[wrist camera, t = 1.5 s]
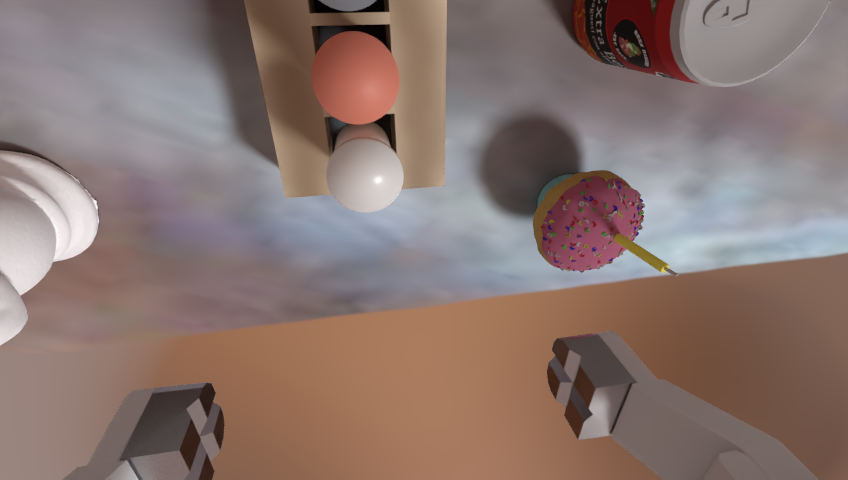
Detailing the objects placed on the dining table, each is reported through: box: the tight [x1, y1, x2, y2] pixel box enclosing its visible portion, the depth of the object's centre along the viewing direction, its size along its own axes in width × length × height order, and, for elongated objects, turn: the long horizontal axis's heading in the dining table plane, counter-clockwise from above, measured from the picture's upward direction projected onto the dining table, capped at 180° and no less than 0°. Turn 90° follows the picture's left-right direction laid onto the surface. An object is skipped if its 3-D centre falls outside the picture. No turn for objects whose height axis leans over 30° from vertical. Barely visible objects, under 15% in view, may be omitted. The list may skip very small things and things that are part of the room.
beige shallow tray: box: [244, 0, 447, 198], centre depth 25 cm, size 11×16×4 cm
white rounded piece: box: [326, 122, 404, 212], centre depth 24 cm, size 4×4×6 cm
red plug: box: [311, 31, 399, 125], centre depth 21 cm, size 4×4×6 cm
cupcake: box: [533, 170, 678, 276], centre depth 30 cm, size 9×8×12 cm
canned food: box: [573, 0, 831, 87], centre depth 23 cm, size 8×8×11 cm
